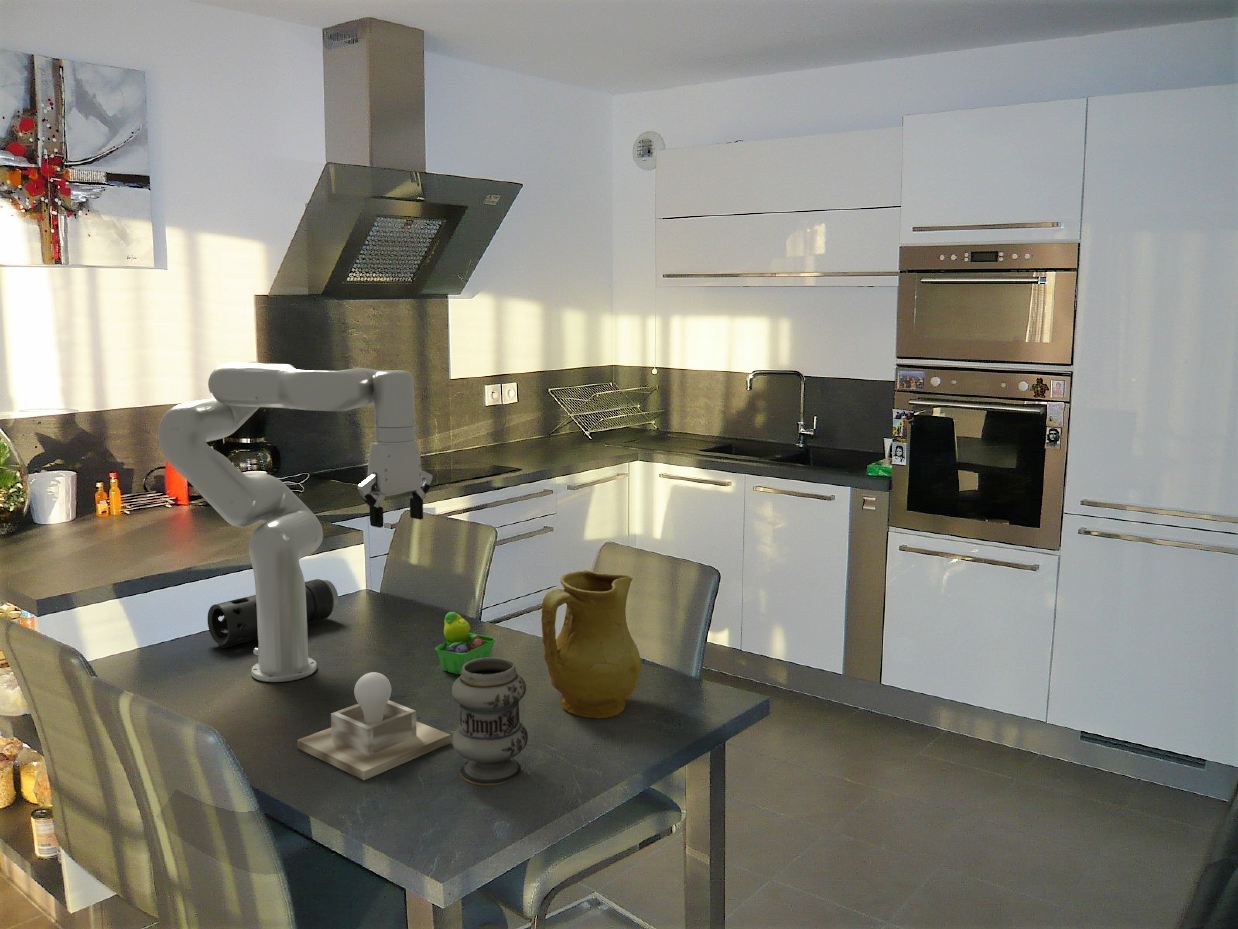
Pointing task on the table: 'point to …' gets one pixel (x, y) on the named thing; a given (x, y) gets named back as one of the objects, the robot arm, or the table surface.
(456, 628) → the fruit basket
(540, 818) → the table surface
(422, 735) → the socket
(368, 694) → the lightbulb
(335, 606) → the muzzle brake
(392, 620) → the table surface
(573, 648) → the pitcher
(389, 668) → the table surface
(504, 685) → the apothecary jar
